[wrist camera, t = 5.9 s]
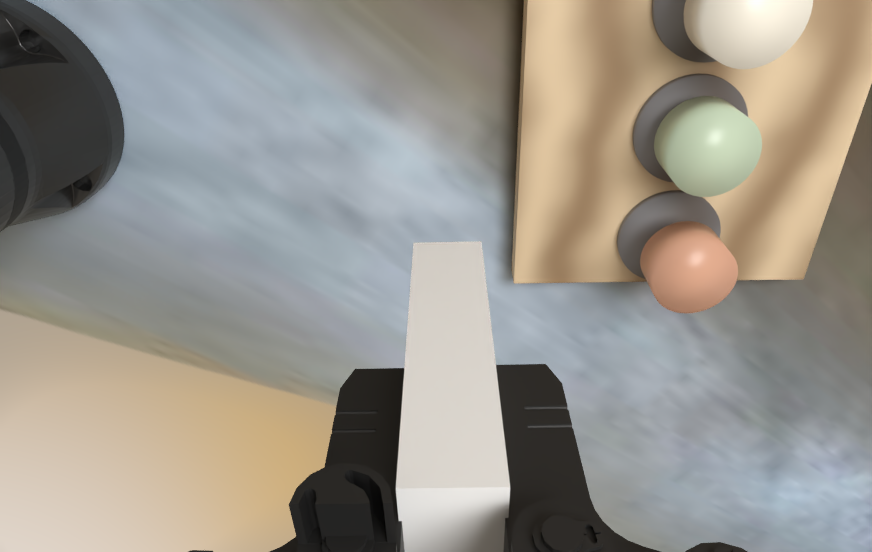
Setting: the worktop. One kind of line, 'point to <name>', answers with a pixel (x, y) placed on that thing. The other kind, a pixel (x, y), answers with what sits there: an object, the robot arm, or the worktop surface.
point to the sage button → (707, 146)
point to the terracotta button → (688, 267)
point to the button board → (637, 125)
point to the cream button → (745, 29)
